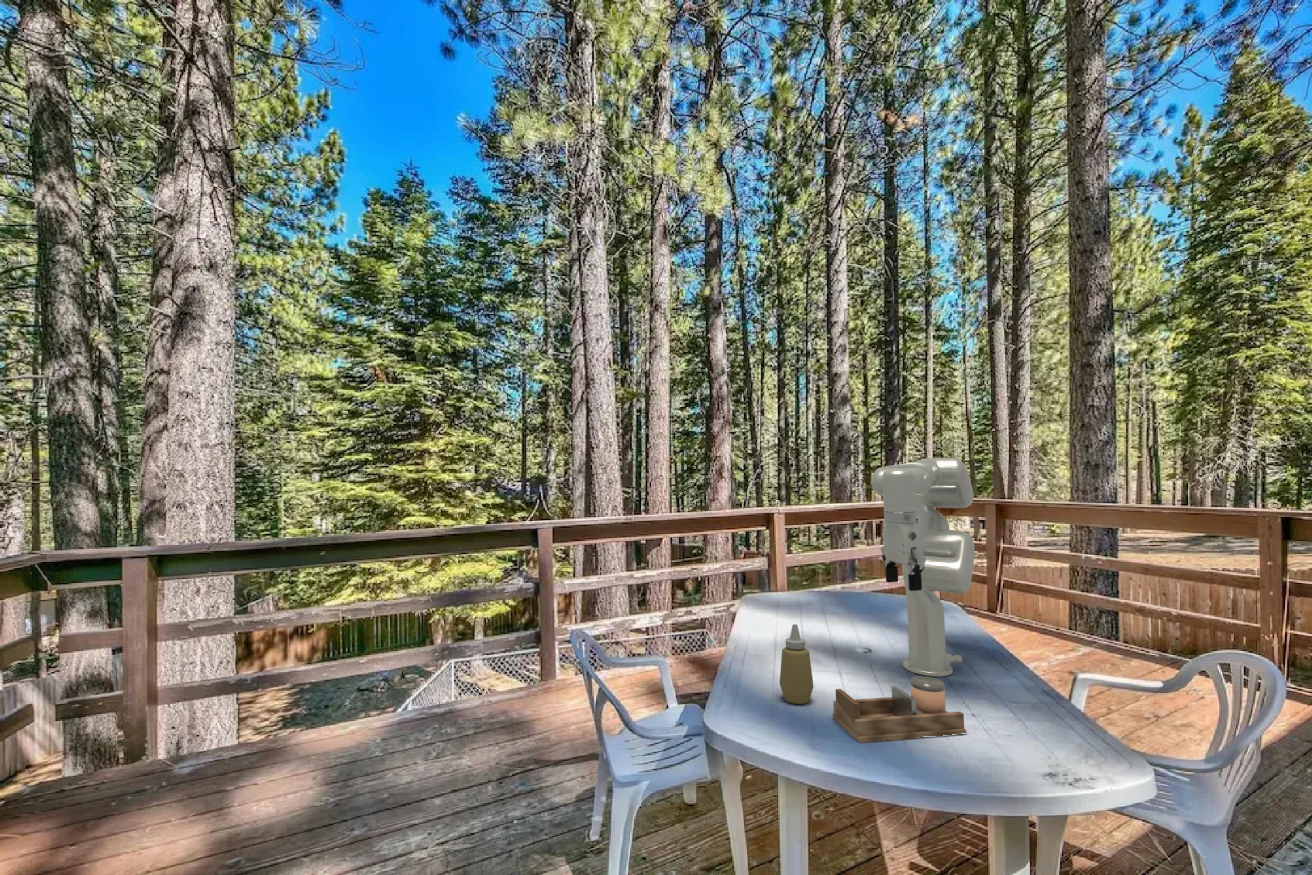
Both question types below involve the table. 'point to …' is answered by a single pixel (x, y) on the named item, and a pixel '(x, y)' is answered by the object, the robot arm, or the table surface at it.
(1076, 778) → the table surface
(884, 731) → the wooden tray
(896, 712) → the plate
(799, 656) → the squeeze bottle
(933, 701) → the jar
